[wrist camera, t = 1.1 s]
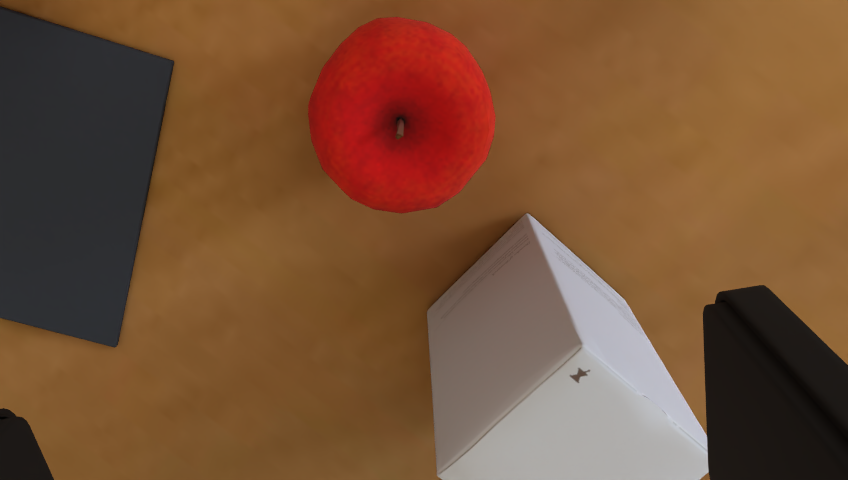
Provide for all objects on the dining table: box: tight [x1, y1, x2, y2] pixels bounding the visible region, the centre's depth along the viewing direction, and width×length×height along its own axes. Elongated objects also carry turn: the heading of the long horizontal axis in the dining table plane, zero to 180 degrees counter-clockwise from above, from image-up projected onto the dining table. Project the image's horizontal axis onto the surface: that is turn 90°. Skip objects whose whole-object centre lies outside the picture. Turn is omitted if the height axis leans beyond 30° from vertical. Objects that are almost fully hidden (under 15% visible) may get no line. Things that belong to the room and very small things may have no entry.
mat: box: [0, 7, 174, 347], centre depth 41 cm, size 18×14×1 cm
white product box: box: [427, 213, 709, 480], centre depth 38 cm, size 9×9×15 cm
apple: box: [308, 17, 495, 213], centre depth 37 cm, size 9×9×8 cm
